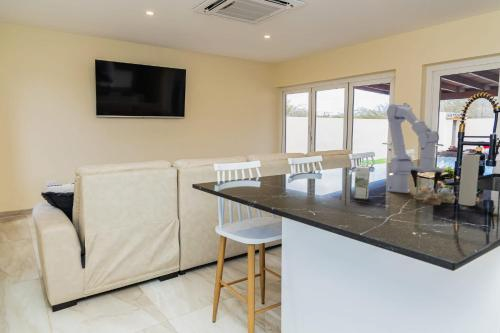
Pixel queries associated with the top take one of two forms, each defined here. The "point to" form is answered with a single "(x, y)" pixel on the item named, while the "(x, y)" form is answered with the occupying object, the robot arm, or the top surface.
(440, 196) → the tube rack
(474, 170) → the paper towel roll
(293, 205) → the top surface
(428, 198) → the stand
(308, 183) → the top surface
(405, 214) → the top surface
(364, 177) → the syrup box
